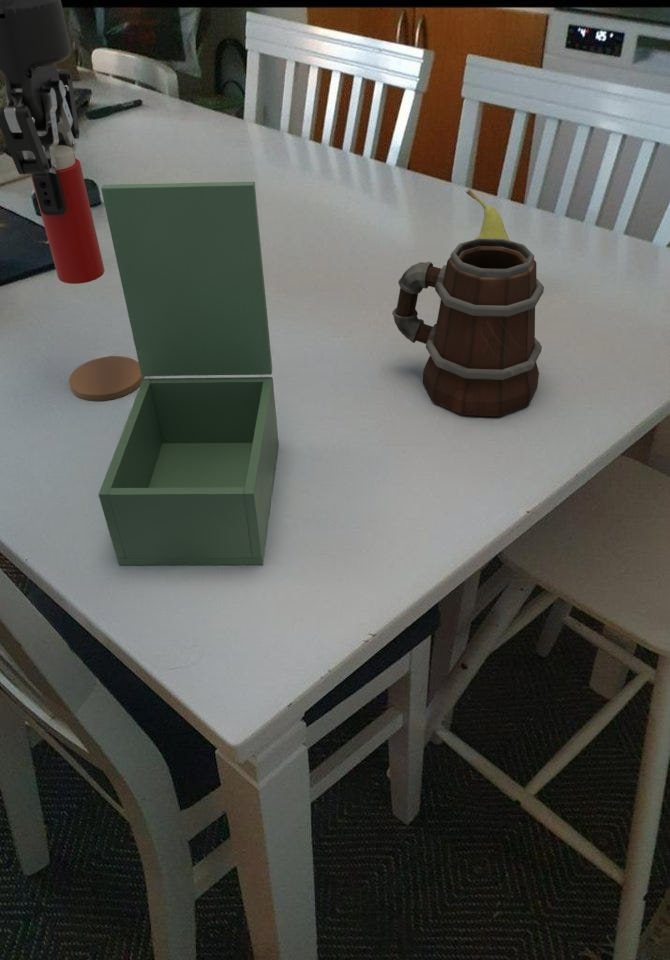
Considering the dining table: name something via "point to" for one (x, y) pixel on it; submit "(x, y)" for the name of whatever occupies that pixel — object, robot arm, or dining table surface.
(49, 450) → the dining table surface
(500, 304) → the mug
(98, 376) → the disc
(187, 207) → the chest lid
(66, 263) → the sauce bottle
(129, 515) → the chest
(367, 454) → the dining table surface
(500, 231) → the fruit
